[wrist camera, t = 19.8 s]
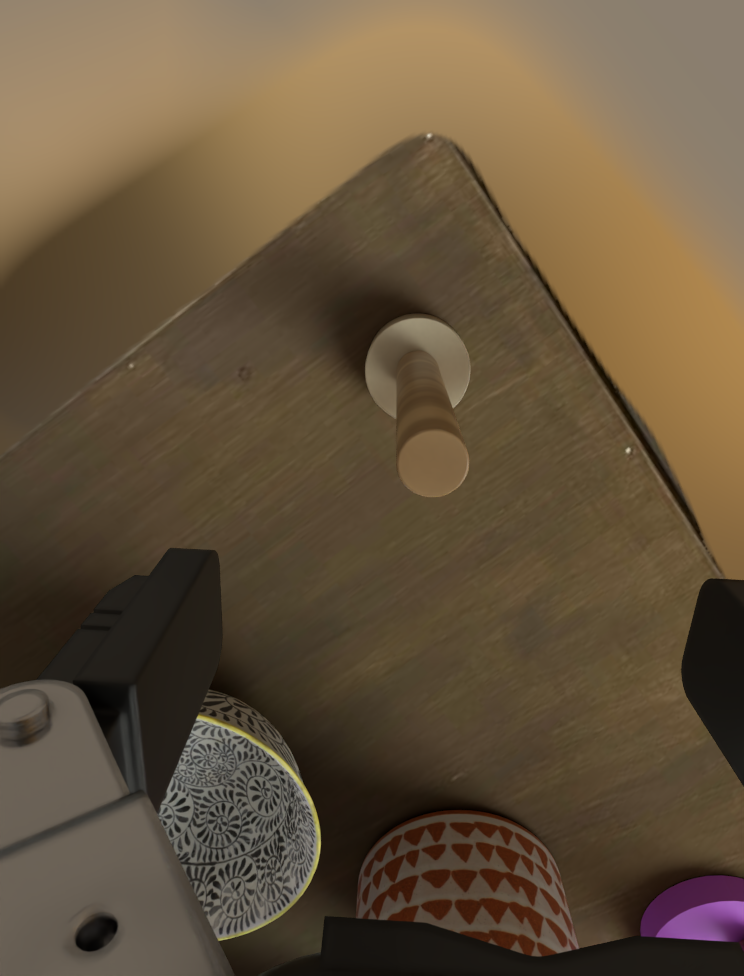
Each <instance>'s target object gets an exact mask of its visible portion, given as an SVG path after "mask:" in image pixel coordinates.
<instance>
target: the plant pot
mask: <svg viewBox="0 0 744 976" xmlns="http://www.w3.org/2000/svg"><path fill="white" fill-rule="evenodd" d="M356 918H361V919H377V920H393V921H409V922H425V923H429V924H432V925H435V926H438V927H441V928H444V929H448V930H451V931H454V932H457V933H460V934H463V935H466V936H469V937H473V938H476V939H479V940H482V941H485V942H488V943H491V944H494V945H498V946H501V947H504V948H507V949H510V950H513V951H516V952H519V953H523V954H526V955H530V956H548V955H552V954H557V953H561V952H566V951H570V950H575V949H579V946H578V942H577V938H576V934H575V931H574V927H573V923H572V919H571V915H570V911H569V907H568V904H567V900H566V896H565V892H564V888H563V884H562V880H561V877H560V873H559V870H558V867H557V864H556V862H555V860H554V858H553V856H552V855H551V853H550V852H549V850H548V849H547V847H546V846H545V845H544V844H543V843H542V842H541V841H540V840H539V839H538V838H537V837H536V836H535V835H534V834H532V833H531V832H530V831H528V830H527V829H525V828H524V827H522V826H520V825H519V824H517V823H515V822H513V821H511V820H508V819H506V818H503V817H500V816H497V815H494V814H490V813H485V812H480V811H472V810H447V811H438V812H433V813H429V814H425V815H421V816H418V817H415V818H412V819H410V820H408V821H406V822H404V823H401V824H400V825H398V826H396V827H395V828H393V829H391V830H390V831H389V832H387V833H386V834H385V835H384V836H382V837H381V838H380V839H379V840H378V841H377V842H376V843H375V845H374V846H373V847H372V848H371V850H370V851H369V853H368V854H367V856H366V858H365V860H364V862H363V864H362V867H361V870H360V874H359V880H358V892H357V909H356Z"/></svg>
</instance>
